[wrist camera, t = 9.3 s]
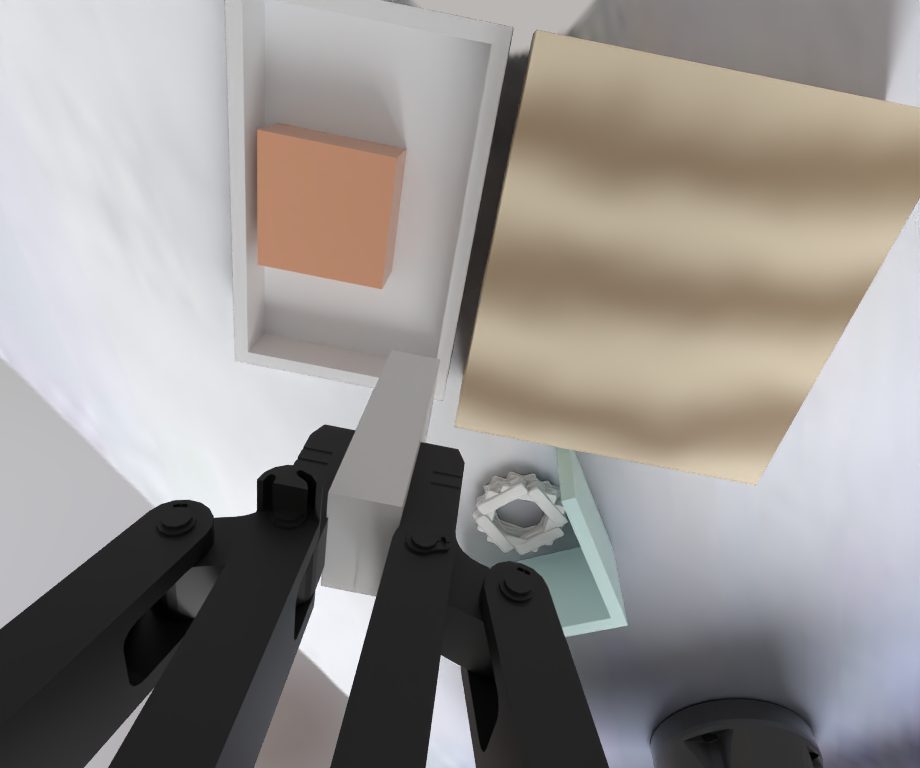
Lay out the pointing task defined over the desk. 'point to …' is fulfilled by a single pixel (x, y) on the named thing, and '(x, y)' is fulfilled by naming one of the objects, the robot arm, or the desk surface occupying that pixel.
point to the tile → (327, 204)
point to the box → (376, 120)
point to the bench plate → (677, 254)
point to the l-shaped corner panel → (565, 572)
